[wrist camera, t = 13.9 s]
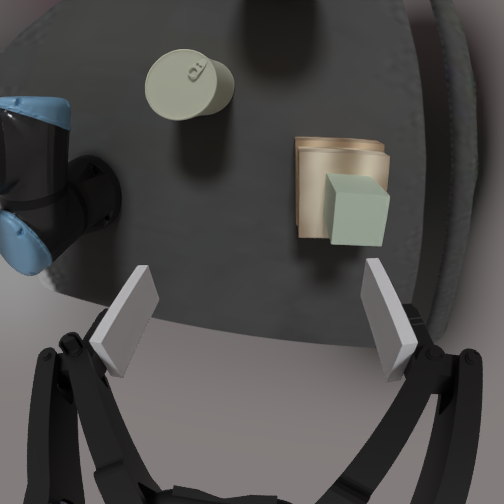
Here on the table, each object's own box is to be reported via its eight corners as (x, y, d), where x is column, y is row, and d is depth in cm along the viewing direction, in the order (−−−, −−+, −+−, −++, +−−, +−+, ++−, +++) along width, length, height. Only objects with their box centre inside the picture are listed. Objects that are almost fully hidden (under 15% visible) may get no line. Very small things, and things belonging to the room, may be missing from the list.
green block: (323, 216, 38) (331, 244, 31) (326, 173, 35) (336, 192, 28) (365, 218, 37) (381, 246, 30) (370, 176, 34) (390, 196, 27)
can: (247, 88, 38) (233, 84, 27) (202, 126, 41) (175, 136, 31) (208, 49, 35) (181, 33, 24) (166, 88, 38) (129, 87, 28)
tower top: (297, 224, 44) (298, 237, 40) (297, 146, 38) (299, 152, 34) (372, 225, 42) (380, 238, 38) (379, 150, 36) (389, 156, 32)
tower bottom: (295, 213, 48) (296, 224, 44) (294, 136, 41) (295, 140, 37) (369, 214, 46) (376, 226, 42) (375, 140, 40) (384, 144, 36)
